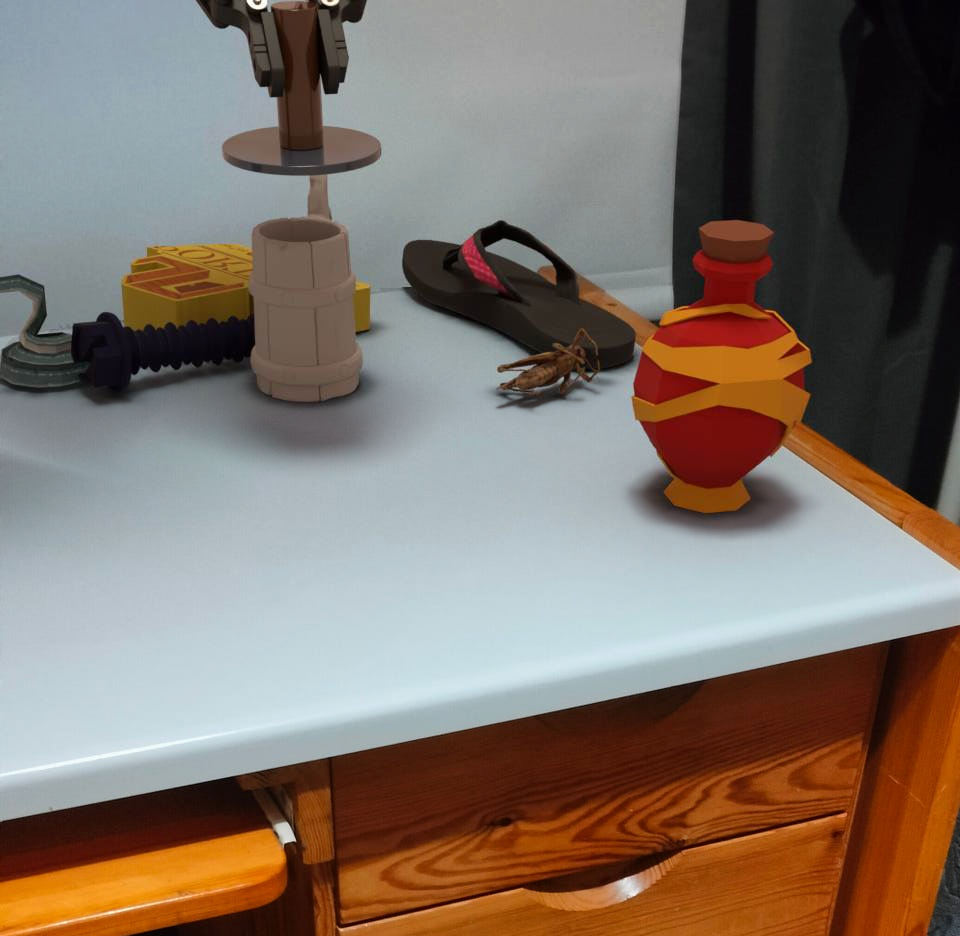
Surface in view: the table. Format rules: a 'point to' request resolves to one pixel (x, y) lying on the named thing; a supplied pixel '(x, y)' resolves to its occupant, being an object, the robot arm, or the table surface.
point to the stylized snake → (37, 345)
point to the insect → (550, 367)
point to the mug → (304, 305)
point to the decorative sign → (200, 287)
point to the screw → (155, 347)
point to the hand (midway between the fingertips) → (305, 85)
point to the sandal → (516, 294)
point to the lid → (300, 112)
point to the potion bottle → (721, 375)
